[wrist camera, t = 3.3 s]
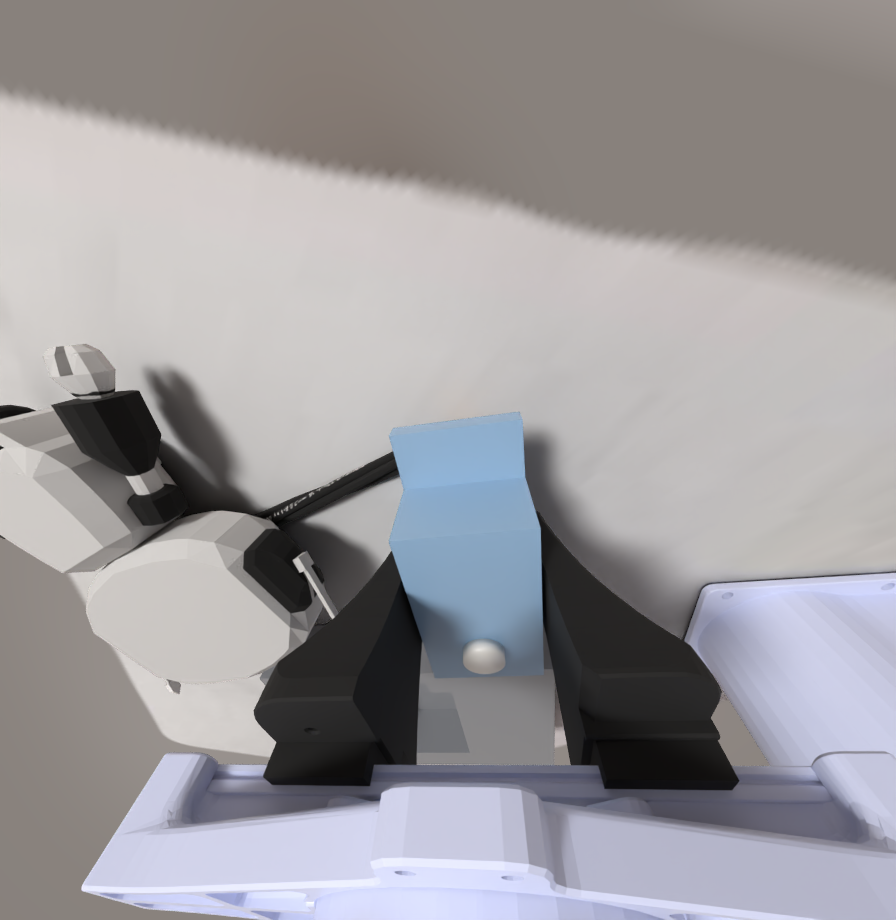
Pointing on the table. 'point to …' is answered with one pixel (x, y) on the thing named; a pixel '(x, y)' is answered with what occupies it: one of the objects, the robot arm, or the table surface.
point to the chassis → (483, 716)
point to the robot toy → (148, 536)
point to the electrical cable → (332, 491)
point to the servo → (470, 546)
